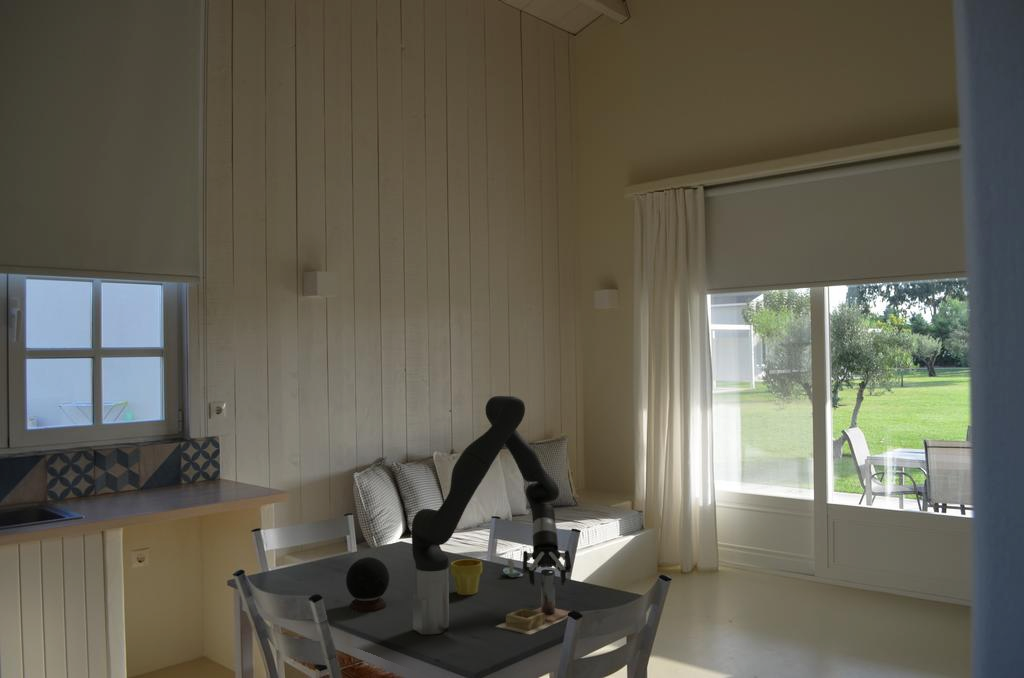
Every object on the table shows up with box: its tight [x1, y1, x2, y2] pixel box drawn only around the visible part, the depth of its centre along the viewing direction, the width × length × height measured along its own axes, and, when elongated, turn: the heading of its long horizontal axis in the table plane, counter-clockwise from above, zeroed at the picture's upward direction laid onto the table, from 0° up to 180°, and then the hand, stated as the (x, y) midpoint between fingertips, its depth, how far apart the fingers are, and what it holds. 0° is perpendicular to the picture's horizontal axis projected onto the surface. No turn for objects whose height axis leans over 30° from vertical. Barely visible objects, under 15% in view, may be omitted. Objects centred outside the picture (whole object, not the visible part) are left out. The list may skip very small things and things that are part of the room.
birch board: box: [495, 607, 571, 635], centre depth 230 cm, size 23×12×4 cm, turn 142°
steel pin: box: [540, 569, 556, 615], centre depth 234 cm, size 4×4×12 cm
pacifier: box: [502, 558, 524, 578], centre depth 284 cm, size 7×6×6 cm
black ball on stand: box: [345, 556, 390, 613], centre depth 249 cm, size 13×13×15 cm
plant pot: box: [450, 558, 483, 596], centre depth 263 cm, size 10×10×10 cm
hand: (547, 584), depth 234 cm, fingers open, 8 cm apart
